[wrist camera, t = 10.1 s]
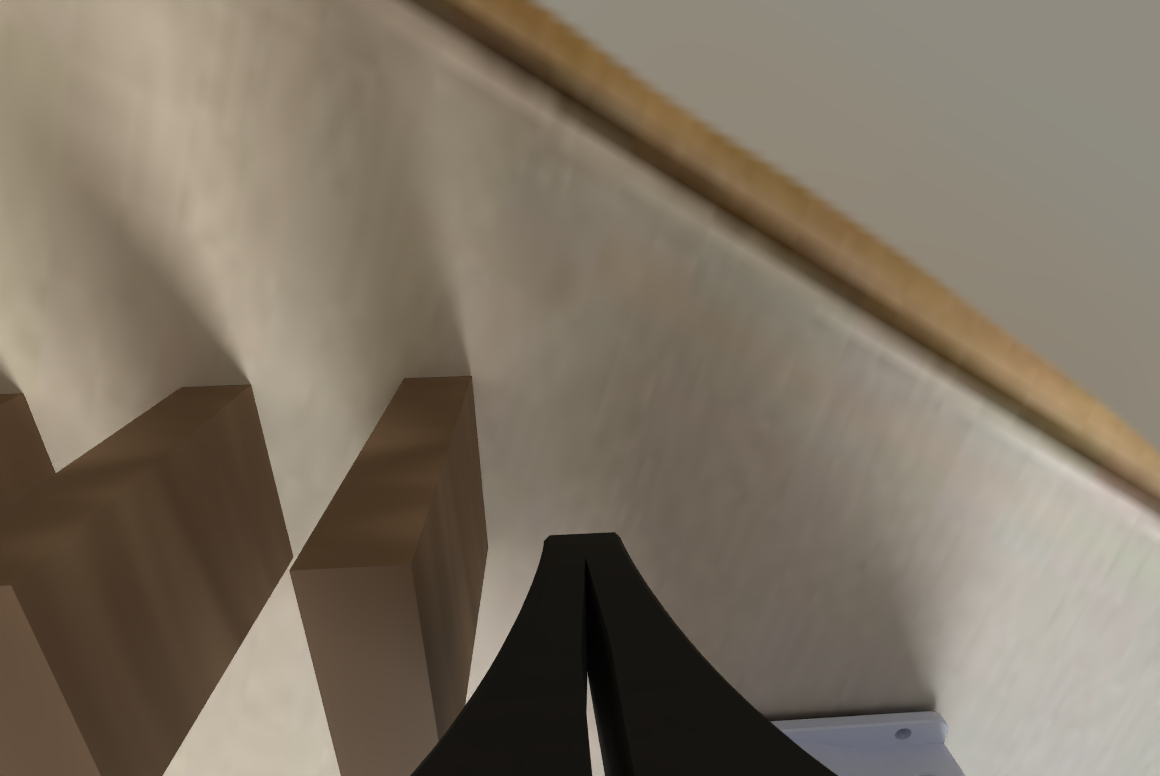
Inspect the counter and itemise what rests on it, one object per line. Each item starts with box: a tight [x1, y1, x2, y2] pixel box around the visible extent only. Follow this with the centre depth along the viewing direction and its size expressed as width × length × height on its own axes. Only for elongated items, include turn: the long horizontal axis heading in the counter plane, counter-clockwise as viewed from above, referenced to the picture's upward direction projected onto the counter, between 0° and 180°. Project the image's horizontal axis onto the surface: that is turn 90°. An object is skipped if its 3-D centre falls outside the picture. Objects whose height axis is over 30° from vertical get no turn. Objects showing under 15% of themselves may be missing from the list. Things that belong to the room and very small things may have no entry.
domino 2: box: [290, 376, 488, 776], centre depth 12 cm, size 2×5×7 cm, turn 1°
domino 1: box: [0, 385, 293, 776], centre depth 12 cm, size 2×5×7 cm, turn 1°
